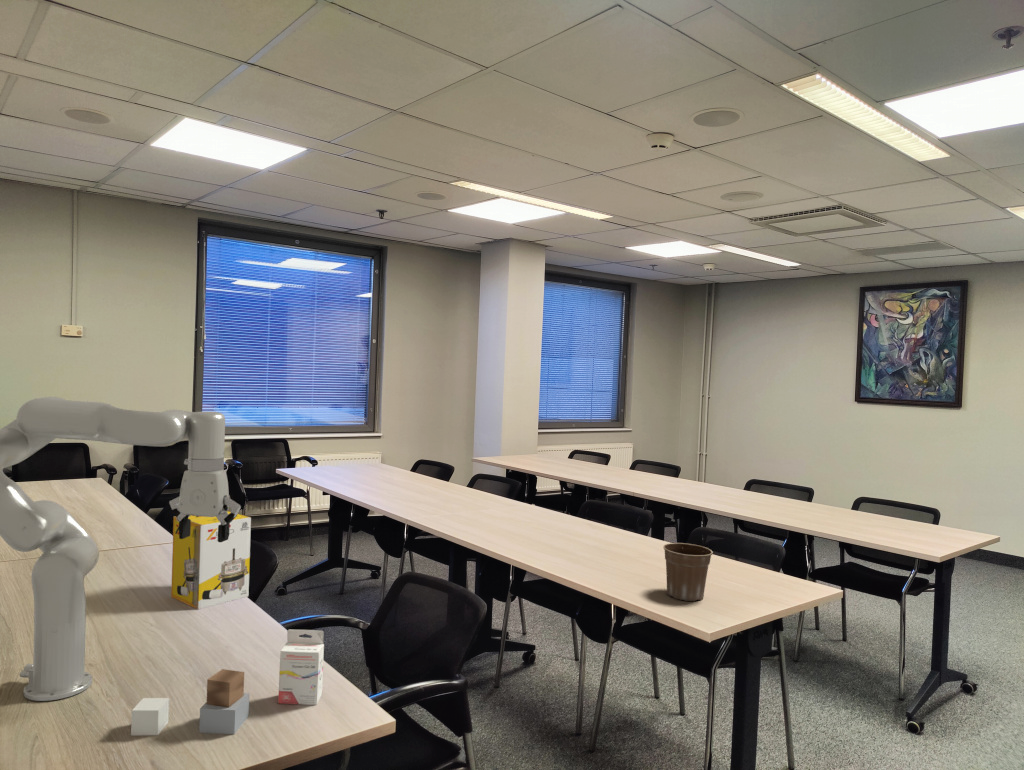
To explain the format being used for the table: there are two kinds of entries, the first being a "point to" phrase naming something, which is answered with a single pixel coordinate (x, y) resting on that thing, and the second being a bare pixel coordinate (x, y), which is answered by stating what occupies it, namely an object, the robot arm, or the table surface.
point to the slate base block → (224, 717)
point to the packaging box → (211, 562)
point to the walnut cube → (225, 688)
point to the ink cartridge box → (301, 668)
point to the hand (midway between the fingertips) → (203, 539)
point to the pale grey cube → (150, 716)
